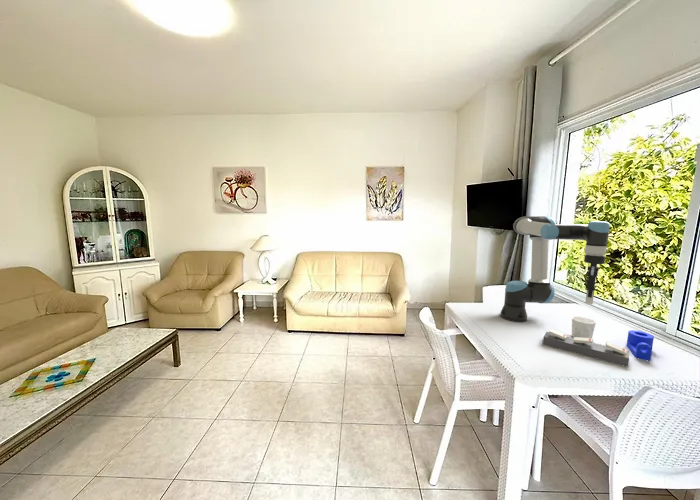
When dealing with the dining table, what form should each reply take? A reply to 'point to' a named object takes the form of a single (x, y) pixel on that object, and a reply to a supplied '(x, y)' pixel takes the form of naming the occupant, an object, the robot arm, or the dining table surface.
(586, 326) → the cup
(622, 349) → the rocker
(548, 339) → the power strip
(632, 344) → the bracket
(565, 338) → the rocker
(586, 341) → the rocker
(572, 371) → the dining table surface
